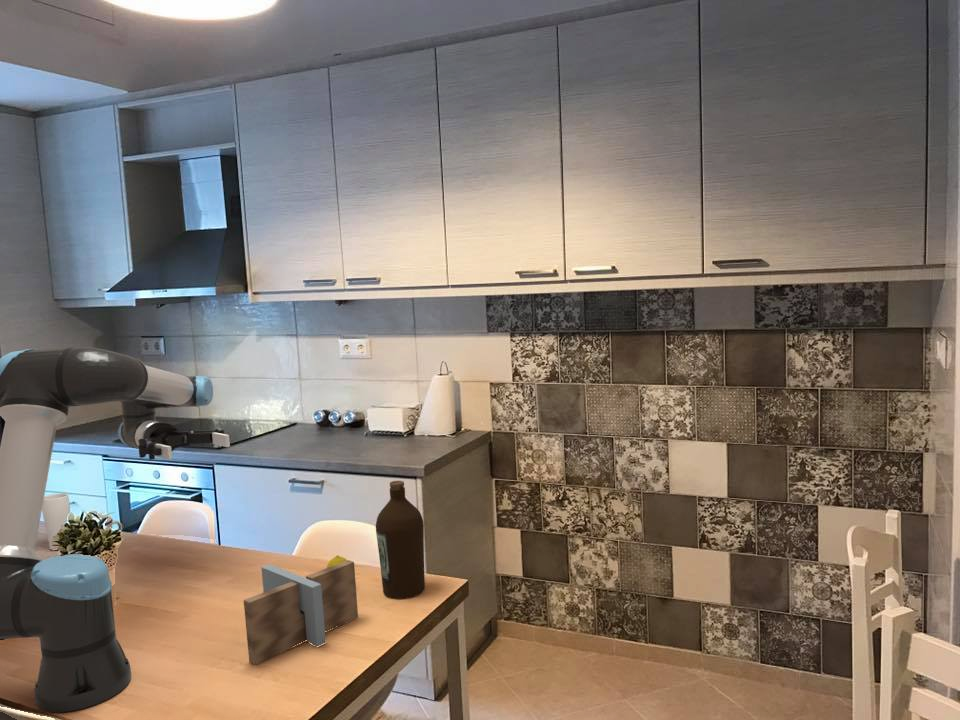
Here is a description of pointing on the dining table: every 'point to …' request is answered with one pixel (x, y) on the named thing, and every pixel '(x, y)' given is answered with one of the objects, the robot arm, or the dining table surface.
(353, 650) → the dining table surface
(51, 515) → the drinking glass
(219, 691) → the dining table surface
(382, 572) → the dark brown bottle
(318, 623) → the slate slotted plate
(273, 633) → the walnut slotted board
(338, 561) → the lemon
